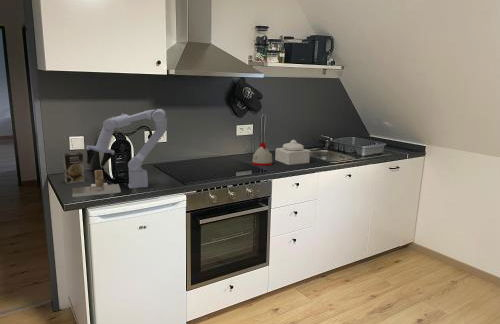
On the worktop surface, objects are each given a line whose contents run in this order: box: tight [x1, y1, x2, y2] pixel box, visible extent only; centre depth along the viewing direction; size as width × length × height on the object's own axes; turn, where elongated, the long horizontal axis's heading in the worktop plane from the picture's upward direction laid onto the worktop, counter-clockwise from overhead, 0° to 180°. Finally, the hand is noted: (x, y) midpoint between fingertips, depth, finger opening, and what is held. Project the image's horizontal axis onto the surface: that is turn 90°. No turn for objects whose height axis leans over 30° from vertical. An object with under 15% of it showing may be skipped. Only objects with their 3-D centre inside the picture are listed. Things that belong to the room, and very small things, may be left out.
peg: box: [94, 169, 105, 186], centre depth 204 cm, size 4×4×8 cm
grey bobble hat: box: [251, 141, 273, 167], centre depth 265 cm, size 14×14×15 cm
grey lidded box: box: [274, 139, 311, 166], centre depth 273 cm, size 18×18×16 cm
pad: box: [90, 182, 109, 186], centre depth 205 cm, size 8×8×1 cm
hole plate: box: [72, 183, 122, 198], centre depth 194 cm, size 22×11×2 cm, turn 114°
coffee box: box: [62, 152, 86, 185], centre depth 210 cm, size 9×6×16 cm
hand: (95, 164), depth 201 cm, fingers open, 7 cm apart
